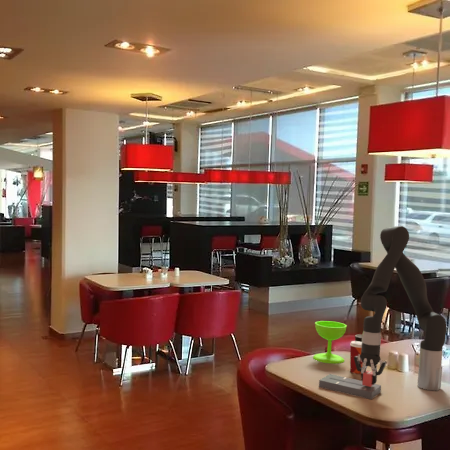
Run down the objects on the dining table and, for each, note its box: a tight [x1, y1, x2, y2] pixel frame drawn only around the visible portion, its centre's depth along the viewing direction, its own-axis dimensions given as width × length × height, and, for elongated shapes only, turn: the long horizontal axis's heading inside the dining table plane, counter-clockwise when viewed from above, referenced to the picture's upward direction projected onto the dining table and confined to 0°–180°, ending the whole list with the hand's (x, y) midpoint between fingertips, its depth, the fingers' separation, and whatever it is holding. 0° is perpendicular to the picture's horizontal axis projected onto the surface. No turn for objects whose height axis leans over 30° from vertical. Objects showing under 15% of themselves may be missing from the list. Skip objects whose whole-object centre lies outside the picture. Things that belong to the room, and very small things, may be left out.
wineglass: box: [312, 320, 348, 364], centre depth 285 cm, size 16×16×18 cm
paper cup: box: [349, 340, 363, 375], centre depth 264 cm, size 8×8×14 cm
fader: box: [362, 370, 373, 387], centre depth 233 cm, size 4×5×6 cm
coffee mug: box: [354, 334, 363, 342], centre depth 296 cm, size 12×9×10 cm
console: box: [318, 373, 382, 400], centre depth 237 cm, size 23×12×3 cm, turn 57°
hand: (368, 382), depth 233 cm, fingers closed on fader, 3 cm apart
